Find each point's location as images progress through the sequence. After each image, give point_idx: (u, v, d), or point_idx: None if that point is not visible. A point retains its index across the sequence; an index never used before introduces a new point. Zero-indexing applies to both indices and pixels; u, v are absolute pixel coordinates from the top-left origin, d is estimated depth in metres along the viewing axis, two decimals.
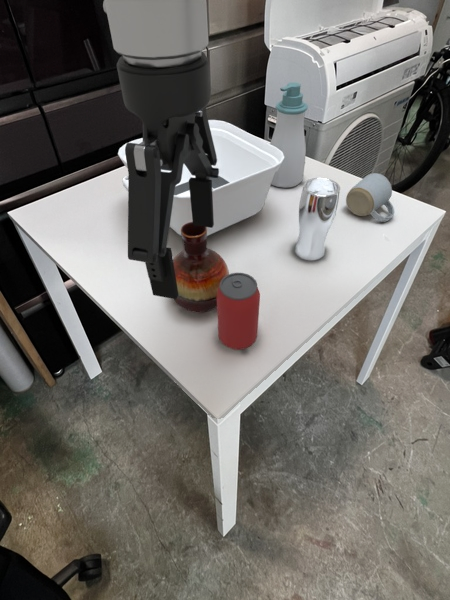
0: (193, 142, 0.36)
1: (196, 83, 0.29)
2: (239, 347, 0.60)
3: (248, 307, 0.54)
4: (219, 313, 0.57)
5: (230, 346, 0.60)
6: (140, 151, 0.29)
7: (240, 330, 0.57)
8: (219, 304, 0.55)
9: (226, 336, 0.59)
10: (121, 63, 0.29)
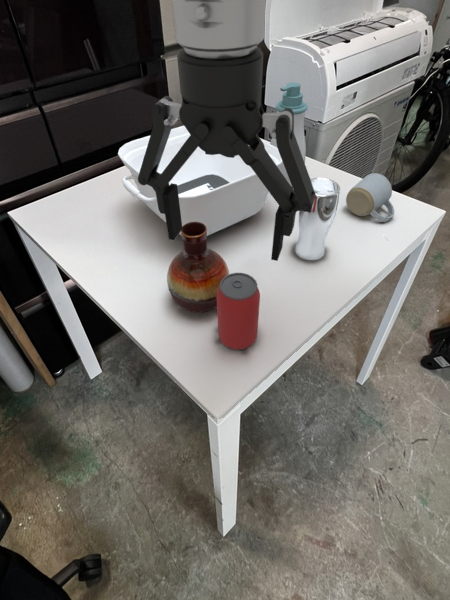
0: None
1: None
2: (239, 347, 0.60)
3: (248, 307, 0.54)
4: (219, 313, 0.57)
5: (230, 346, 0.60)
6: (290, 116, 0.34)
7: (240, 330, 0.57)
8: (219, 304, 0.55)
9: (226, 336, 0.59)
10: (236, 60, 0.30)
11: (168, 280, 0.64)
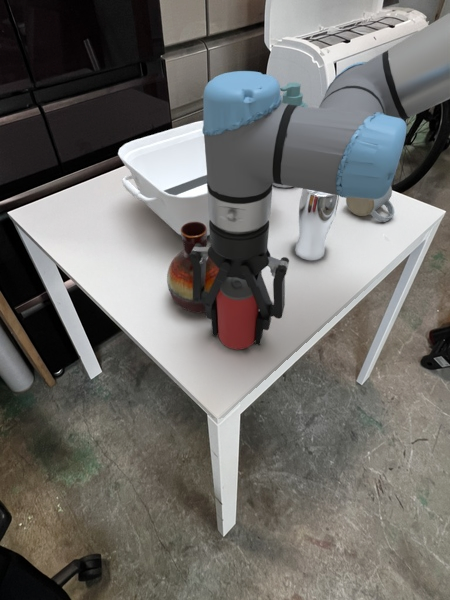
0: None
1: None
2: (239, 347, 0.60)
3: (248, 307, 0.54)
4: (219, 313, 0.57)
5: (230, 346, 0.60)
6: (287, 265, 0.49)
7: (240, 330, 0.57)
8: (219, 304, 0.55)
9: (226, 336, 0.59)
10: (252, 234, 0.44)
11: (168, 280, 0.64)
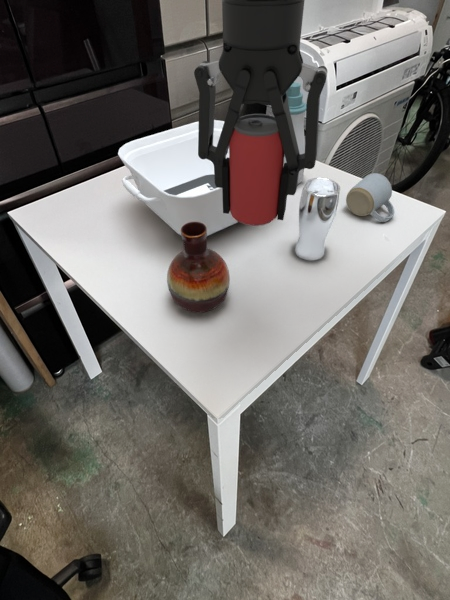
0: None
1: None
2: (258, 221, 0.47)
3: (272, 149, 0.41)
4: (233, 168, 0.44)
5: (246, 220, 0.48)
6: (326, 74, 0.37)
7: (260, 190, 0.44)
8: (233, 151, 0.42)
9: (241, 205, 0.46)
10: None
11: (168, 280, 0.64)
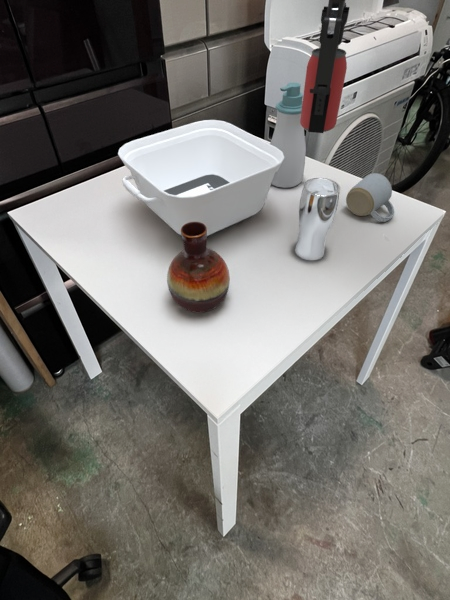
0: None
1: None
2: None
3: None
4: (336, 87, 0.62)
5: (335, 123, 0.68)
6: None
7: None
8: (339, 73, 0.61)
9: (337, 112, 0.66)
10: None
11: (168, 280, 0.64)
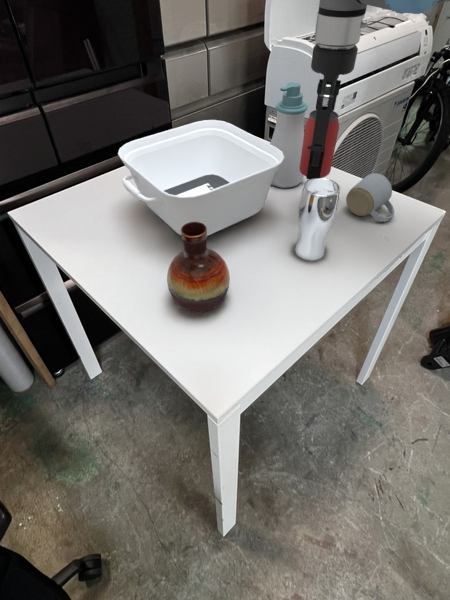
0: None
1: None
2: None
3: None
4: (330, 144, 0.73)
5: (330, 170, 0.79)
6: None
7: None
8: (332, 133, 0.72)
9: (331, 162, 0.77)
10: None
11: (168, 280, 0.64)
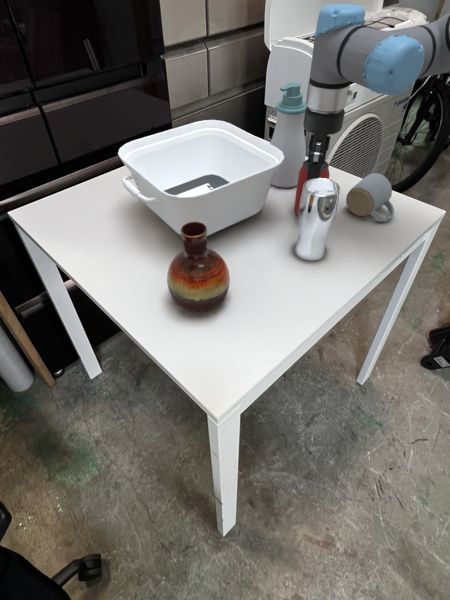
0: None
1: None
2: None
3: None
4: None
5: None
6: None
7: None
8: None
9: None
10: None
11: (168, 280, 0.64)
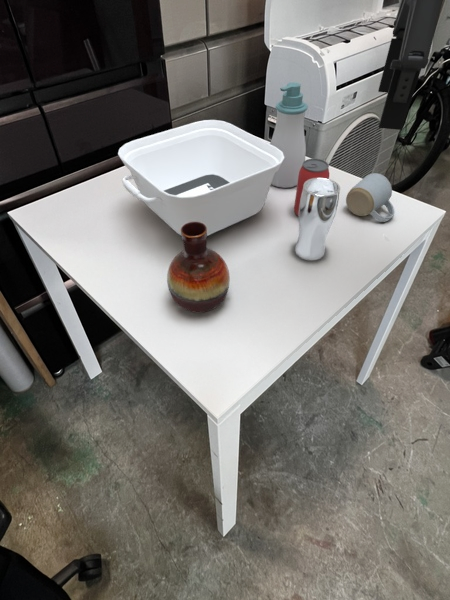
0: None
1: None
2: None
3: None
4: None
5: None
6: None
7: None
8: None
9: None
10: None
11: (168, 280, 0.64)
